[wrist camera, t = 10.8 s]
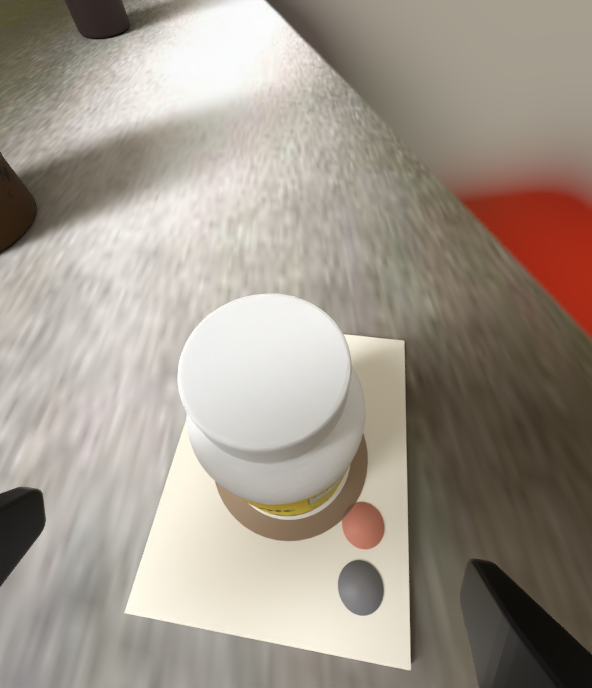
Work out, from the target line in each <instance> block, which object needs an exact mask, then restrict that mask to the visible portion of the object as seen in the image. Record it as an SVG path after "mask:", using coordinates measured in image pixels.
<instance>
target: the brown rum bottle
mask: <svg viewBox="0 0 592 688" xmlns="http://www.w3.org/2000/svg"><path fill="white" fill-rule="evenodd" d="M35 213H36V203H35V200H34V198H33V196H32V195H31V193H30V192H29V191H28V189H27V188H26V187H25V185H24V184H23V183H22V181H21V180H20V179H19V177H18V176H17V175H16V173H15V172H14V171H13V169H12V168H11V167H10V165H9V164H8V163H7V161H6V160H5V159H4V157H3V156H2V155H1V152H0V251H2V250H4V249H5V248H7V247H8V246H10V245H11V244H12V243H14V242H15V241H16V240H17V239H19V238H20V237H21V236H22V235H23V234H24V233H25V232H26V230H27V229H28V228H29V226H30V225H31V223H32V222H33V219H34V217H35Z"/></svg>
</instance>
